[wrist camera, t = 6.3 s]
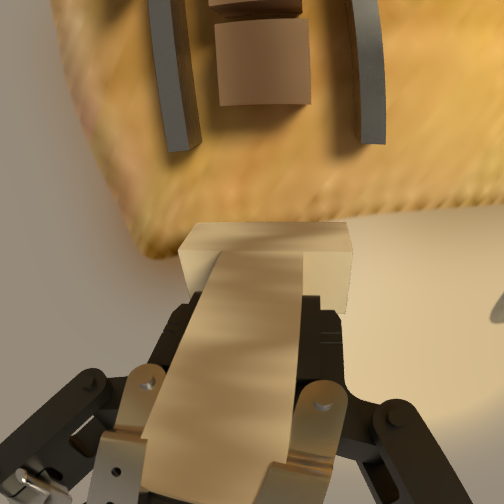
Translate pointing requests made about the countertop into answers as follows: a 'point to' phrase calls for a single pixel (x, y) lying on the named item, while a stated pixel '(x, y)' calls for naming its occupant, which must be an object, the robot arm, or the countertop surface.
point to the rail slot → (182, 84)
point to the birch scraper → (240, 355)
